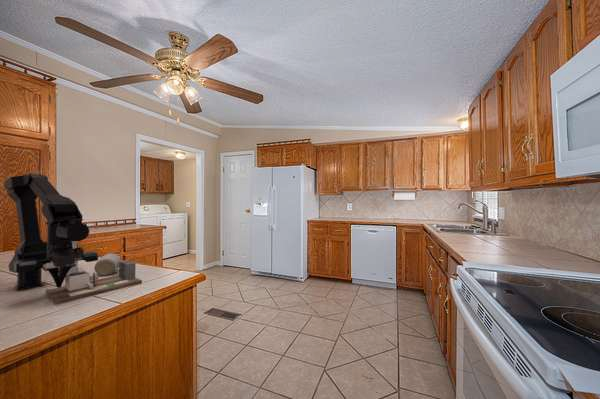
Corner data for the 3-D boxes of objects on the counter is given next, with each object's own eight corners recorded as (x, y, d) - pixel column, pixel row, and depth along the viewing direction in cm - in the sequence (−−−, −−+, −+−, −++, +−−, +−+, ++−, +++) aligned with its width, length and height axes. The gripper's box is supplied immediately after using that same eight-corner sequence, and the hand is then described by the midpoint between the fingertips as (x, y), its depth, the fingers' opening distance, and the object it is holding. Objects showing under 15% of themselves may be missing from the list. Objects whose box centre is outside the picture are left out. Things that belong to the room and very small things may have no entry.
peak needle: (92, 286, 80) (92, 272, 80) (94, 286, 81) (94, 272, 81) (93, 287, 80) (93, 273, 80) (95, 286, 80) (95, 273, 80)
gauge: (64, 287, 81) (64, 273, 81) (94, 280, 88) (94, 268, 88) (72, 294, 76) (73, 279, 76) (104, 286, 82) (104, 273, 82)
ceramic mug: (92, 277, 95) (93, 258, 95) (99, 271, 103) (100, 253, 103) (125, 274, 100) (125, 256, 100) (129, 269, 107) (129, 252, 107)
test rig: (45, 293, 79) (45, 272, 79) (126, 275, 98) (126, 258, 98) (55, 304, 71) (55, 280, 71) (141, 283, 90) (142, 264, 90)
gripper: (19, 246, 66) (18, 303, 66) (104, 238, 81) (103, 284, 81) (14, 241, 72) (13, 293, 72) (93, 235, 88) (92, 277, 87)
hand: (58, 287), depth 78 cm, fingers closed
